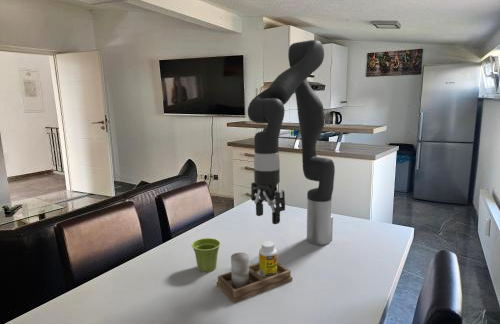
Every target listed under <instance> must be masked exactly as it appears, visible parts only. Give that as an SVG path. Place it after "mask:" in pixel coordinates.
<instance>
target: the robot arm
mask: <svg viewBox="0 0 500 324" xmlns="http://www.w3.org/2000/svg"><path fill="white" fill-rule="evenodd" d="M287 54H288V56H287V57H288V65H289V68H287V69H286V70H284V71H282V72H281V73H280V74H278V76H276V78H275V79H273V82H271V84H270V85H269V86H268V88H266V89H264V90H262V92H259V93H258V94H257V95H256V96H254V98H252V100H251V101H250V102H249V104H248V107H247V116H248V118H249V120H250V121H251V122H253V123H255V124H267V126H266V129H264V130H263V131H258V132H257V133H255V135H254V138H253V139H254V142H253V144H254V156H253V172H254V174H253V175H254V176H253V177H254V178H253V181H254V182H251V184H250V185H251V186H250V187H251V188H250V189H251V191H250V192H251V193H250V194H251V195H250V196H251V197H250V200H251V201H252V202H254V204H255V216H257V217H261V216H263V215H264V201H265V202H267V204H268V206H270V208H271V211H272V213H271V219H272V221H271V222H272V224H273V225H278V224H280V222H281V212H284V211H286V201H285V200H286V199H285V198H286V197H285V193H286V192H285V191H284V189H281V190H278V184H279V183H280V181H281V177H280V171H281V169H280V164H281V163H280V154H279V146H280V145H279V142H280V141H279V139H280V134H281V129H282V125H283V121H284V118H285V111H286V110H285V106H284V105H286V104H287V103H288V102H289V100H290V99H291V97H292V96H293V94H294V93H295V94H294V95H295V100H296V109H297V118H298V124H299V131H300V132H299V133H300V137H301V138H300V139H301V154H302V155H301V157H302V161H301V162H302V172H303V175H304V177H305V178H306V179H307V180H309V181H312V182H318V187H316V188H311V189H309V190H308V191H307V195H306V196H307V197H306V198H307V199H306V200H307V201H306V241H307V242H308V243H310V244H312V245H318V246H319V245H320V246H324V245H328V244H330V242H331V241H333V229H334V227H333V224H334V217H333V216H332V198H333V191H334V184H335V183H334V181H335V173H336V172H335V169H336V168H335V162H334V161H333V160H332V159H331V158H328V157H321V156H320V157H319V156H317V149H316V148H317V146H316V145H317V142H318V140H319V137H320V135H321V134H322V132H323V130H324V126H325V123H326V122H325V121H326V119H325V111H324V105H323V103H322V101H321V99H320V98H319V96H318V95H317V94H316V92H315V91H314V90H313V88H312V87H311V85H310V84H309V82H308V81H309V80H308V78H309V77H310V76H311V75H312V74H313V73H314V72H315V71H316V70H318V69H319V68H320V67H321V65H322V63H323V62H324V58H325V49H324V46H323V43H321V41H320V40H317V39H313V40H312V39H309V40H303V41H298V42H293V43H292V44H290V45H289V48H288V53H287Z"/></svg>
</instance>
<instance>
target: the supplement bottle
mask: <svg viewBox="0 0 500 324" xmlns="http://www.w3.org/2000/svg"><path fill="white" fill-rule="evenodd" d="M258 252H259V253H258V255H259V256H258V257H259V258H258V259H259V261H258V263H259V271H260V275H261V276H262V277H265V278H268V277H271V276H274V275H276V274H277V262H278V250H277V249H276V247H275V243H274V242H273V241H269V240H268V241H267V240H266V241H264V242H261V248H259V251H258Z"/></svg>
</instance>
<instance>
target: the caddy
mask: <svg viewBox="0 0 500 324" xmlns="http://www.w3.org/2000/svg"><path fill="white" fill-rule="evenodd" d="M249 258H250V257H249V254H248V253H246V252H235V253H232V254H231V256H230V266H231V267H230V268H231V271H229V272H226V273H223V274H220V275H217V281H215V282H216V283H215V285H216V287H217V288H219V290H220V291H221V292H222V293H223V294H224V295H225V296H226V297H227V298H228V299H229V300H230V301H231V302H232V303H233V304H235V303H238V302H241V301H244V300H246V299H248V298H251V297H253V296H256V295H259V294H262V293H265V292H267V291H269V290H272V289H275V288H277V287H280V286H282V285H285V284H288V283H291V282H293V277H292V276H291V270H289V269H288V268H286V267H285V266H284V265H282V264H280V263H279V262H278V261H277V274H276V275H274V276H271V277H268V278H265V277H262V276H261V275H260V271H259V262H256V263H253V264H250V263H249V262H250V259H249Z"/></svg>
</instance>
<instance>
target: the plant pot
mask: <svg viewBox="0 0 500 324" xmlns="http://www.w3.org/2000/svg"><path fill="white" fill-rule="evenodd" d="M220 246H221V241H220V240H218V239H217V238H210V237H206V238H205V237H204V238H199V239H197V240H194V241H193V242H192V244H191V247H192V248H193V251H194V254H195V259H196V266H197V269H198V271H200V272H202V273H203V272H209V273H210V272H213V271H214V270H215V269H217V262H218V253H219V249H220Z"/></svg>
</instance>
